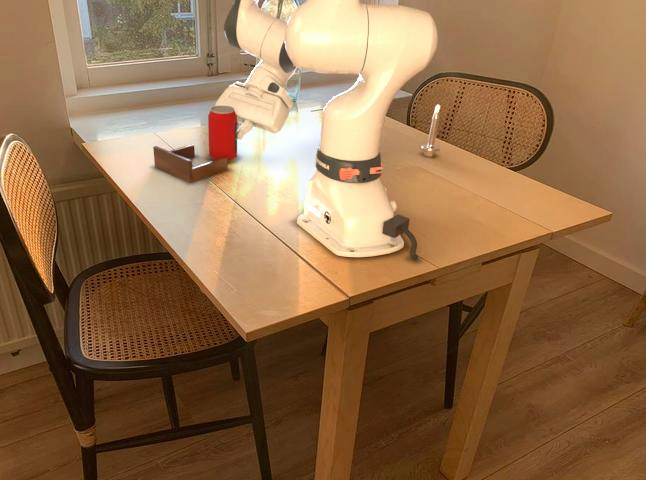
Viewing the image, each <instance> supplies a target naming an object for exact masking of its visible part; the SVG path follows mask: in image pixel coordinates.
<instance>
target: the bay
mask: <svg viewBox="0 0 646 480" xmlns="http://www.w3.org/2000/svg"><path fill="white" fill-rule="evenodd" d="M152 148H153V150H152V151H153V161H154V168H155V169H157V170H160V172H161V171H162V172H164V173H166V174H168V175H170V176H173V177H175V178H177V179H180V180H181V181H183V182H187V183H189V184H192V183H194V182H197V181H200V180H203V179H207V178H209V177H212V176H215V175H217V174H220V173H222V172H225V171H228V161H227V158H226V157H223V158H220V159H216V160H214V159H213V160H210V161H208V162H205V163H201V164H198V165H195V166H193V160H191V159H192V158H195V157H196V154H195V153H196V152H195V144H193V143H192V144H188V145H184V146H181V147H178V148H174V149H170V150H167V149H165V148H162V147H160V146H158V145H155V146H153V147H152Z"/></svg>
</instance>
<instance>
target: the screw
mask: <svg viewBox="0 0 646 480" xmlns="http://www.w3.org/2000/svg"><path fill="white" fill-rule="evenodd" d="M441 108H442V106H441V105H440V104H436V105H435V106H434V111H433V115H432V118H431V124H430V128H429V134H428V138H427V142H426V143H422V144H420V149H421V150H423V155H424V156H425V157H429V158H432V157H435V154H436V152H439V151H440V150H441V148H440V146H439V145H438V144H436V140H437V133H438V130H439V129H438V128H439V123H440V122H439V121H440V119H441V118H440V117H441V116H440V113H441Z"/></svg>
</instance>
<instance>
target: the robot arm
mask: <svg viewBox="0 0 646 480" xmlns="http://www.w3.org/2000/svg"><path fill="white" fill-rule="evenodd" d="M258 2H259V0H234V1H233V3H232V5H231V7H230V10H229V11H228V13H227V16H226V18H225V21H224V24H223V32H224V35H225V38H226V40H227V43H228V44H229V46H230V47H232V48H235V49H237V50H240V51H242V52H246V53H248V54H249V55H251V56H253V57H255V58H257V59H259V60H260V61H259V62H258V64H256V65H255V67H254V68H253V70H252V71H251V73H250V75H249V76H248V78H247V80H246V81H245V82H244V83H242V82H241V81H236V82H234V83H231V84H229V86H228V87H226V89H225V90H224V91H223V92H222V94H221V95H219V97H218V99H217V100H216V102H215V104H214V106H221V105H223V106H230V107H233V108H234V111H235V113H236V115H237V140H240V141H241V140H242V139H243V137H244V136H245V135H246V134H247V133H249V132H250V131H252V130H253V128H254V127H255V128H257V129H260V130H263V131H266V132H269V133H272V134H277V133H279V132H280V131H281V130H282V129H283V127H284V125H285V123H286V121H288V117H289V115H290V110H292V109H293V107H294V106H295V102H294V100H293V99H292V97H291V96H290V94H289V93H288V92H287V91H286V86H287V83H288V81H289V79H291V77H292V76H293V75H294V74H295V72H296V70H297V69H302V70H306V71H309V72H313V73H318V74H332V75H333V74H336V75H337V74H338V75H358V76H359V77H358V78H357V80H356V82H355V83H354V85H352V86H351V87H350V88H348V89H347V90H346V91H344V92H341V93H339V94H337V95H335V96H333V97H332V98H331V99H330V100H329V101H328V102H327V103H326V104H325V106H324V108H323V110H322V113H321V125H320V139H319V146H318V147H317V149H316V154H315V168H316V170H315V172H314V174H313V176H312V177H311V178H310V179H309V181H308V182H307V187H306V188H307V189H306V192H305V193H306V194H305V201H304V204H303V205H304V208H303V213H302V214H299V216H297V218H296V224H297V225H298V226H300V228H302V229H303V230H304V231H305V232H306V233H308V234H309V235H311V236H312V238H314V239H316V241H318V242H319V243H321V244H322V245H323V246H324V247H325V248H327V250H328V251H330V252H332V254H334V255H336V256H338V257H345V258H368V257H370V258H371V257H376V256H383V255H389V254H391V253H395V252H397V251H400V250H401V249H403V248H404V247H405V241H404V239H403V237H402V236H401V235H402V234H404V235H406V237H407V238H408V239H409V241H410V243H411V248H410V252H409V253H410V254H409V255H410V257H411V259H412V260H413V261H417V260H418V259H419V255H418V254H417V253H416V252H417V248H418V242H417V239H416V237H415V235H414V234H413V233H412V232H411V231H410V230H409V227H410V226H409V225H410V220H411V218H409V217H407V216H405V215H403V214H399V213H397V214H395V213H396V211H397V202H396V200H390V198H389V197H388V189H387V187H386V186H385V185H384V183H383V180H382V178H381V176H382V174H383V171H382V169H384V167H383V166H382V165H383V163H382V157H381V155H382V154H381V152H380V146H381V141H382V140H381V139H382V134H383V129H384V124H385V120H386V116H387V113H388V110H389V109H390V106H391V104H392V102H393V101H394V98H395V97H396V96H397V94H398V93H399V92H400V90H401V89H402V88H403V87H404V85H406V83H408V82H409V81H410V80H411V79H413V77H415V76H416V75H417V74H419V73H421V72H422V71H424V70H425V69H426V68H427V67H428V66H429V65H430V63H431V61H432V60H433V58H434V56H435V55H436V51H437V48H438V42H439V34H438V28H437V24H436V23H435V20H434V18H433V16H432V15H431V14H430V13H429V12H428V11H424V10H421V9H417V8H414V7H410V6H405V5H400V4H397V5H395V4H375V3H374V4H372V3H364V2H361V0H306V1H305V2H303V3H301V5H299V6H298V7H297V8H296V9H295V10H294V11H293V12H292V14H291V15H290V16H289V19H288V21H287V22H286V21H285V20H282V19H280V18H278V17H276V16H274V15H271V14H270V13H268V12H265V11H264V10H262V8H260V7H259V4H258ZM239 126H240V127H239Z"/></svg>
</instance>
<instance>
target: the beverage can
mask: <svg viewBox="0 0 646 480" xmlns="http://www.w3.org/2000/svg"><path fill="white" fill-rule="evenodd" d="M207 120H208V121H207V124H208V127H207V129H208V153H209V154H208V156H209V157H210V158H211V159H213V160H216V159H220V158H223V157H226V158H227V162H231V161H233V160H234V159H236V158H237V157H238V139H237V115H236V113H235V111H234V108H233V107H230V106H223V105H221V106H215V105H214V106H212V107H210V110H209V113H208V115H207Z"/></svg>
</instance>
